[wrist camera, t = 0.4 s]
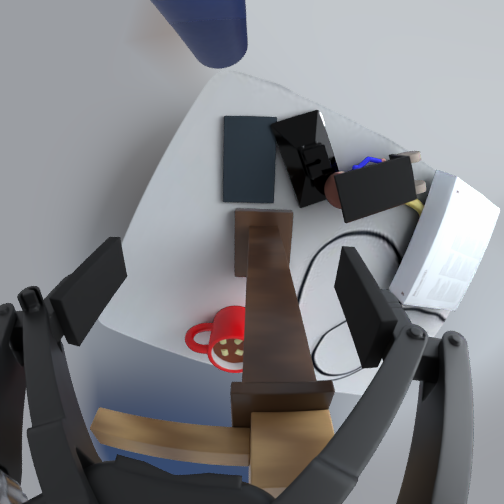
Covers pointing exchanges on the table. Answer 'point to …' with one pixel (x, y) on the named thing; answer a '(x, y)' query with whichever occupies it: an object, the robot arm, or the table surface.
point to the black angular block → (306, 155)
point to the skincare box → (445, 245)
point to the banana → (416, 206)
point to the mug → (222, 339)
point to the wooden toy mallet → (226, 442)
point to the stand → (272, 323)
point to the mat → (249, 159)
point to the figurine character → (374, 186)
